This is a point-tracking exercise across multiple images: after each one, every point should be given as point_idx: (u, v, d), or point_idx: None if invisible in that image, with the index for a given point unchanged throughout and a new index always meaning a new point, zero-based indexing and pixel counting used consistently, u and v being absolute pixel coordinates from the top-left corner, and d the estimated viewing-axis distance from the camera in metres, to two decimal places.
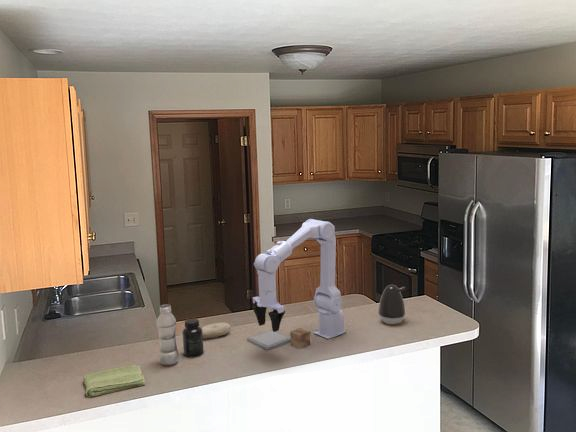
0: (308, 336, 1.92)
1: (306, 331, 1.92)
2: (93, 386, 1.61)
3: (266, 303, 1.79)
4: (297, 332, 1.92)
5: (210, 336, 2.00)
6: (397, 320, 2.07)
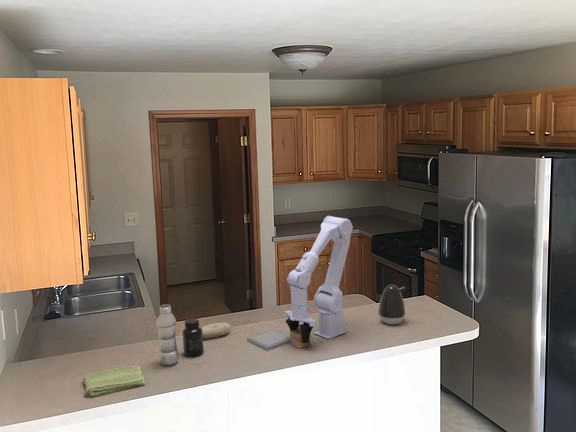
0: None
1: None
2: (93, 386, 1.61)
3: (298, 317, 1.89)
4: (297, 332, 1.92)
5: (210, 336, 2.00)
6: (397, 320, 2.07)
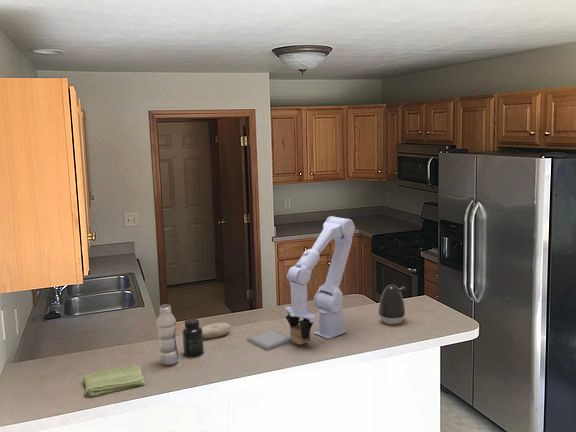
0: None
1: None
2: (93, 386, 1.61)
3: (298, 313, 1.89)
4: (297, 328, 1.92)
5: (210, 336, 2.00)
6: (397, 320, 2.07)
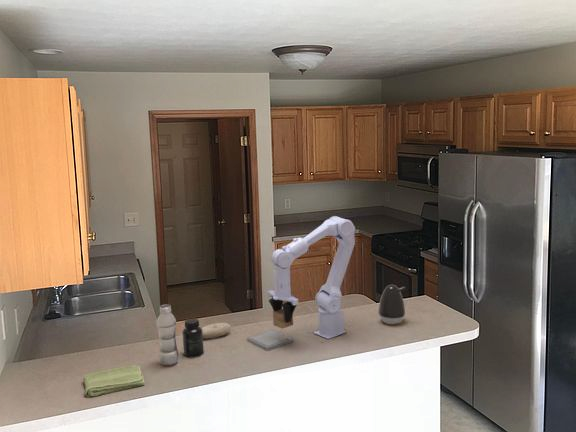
0: None
1: None
2: (93, 386, 1.61)
3: (281, 296, 1.89)
4: (280, 312, 1.92)
5: (210, 336, 2.00)
6: (397, 320, 2.07)
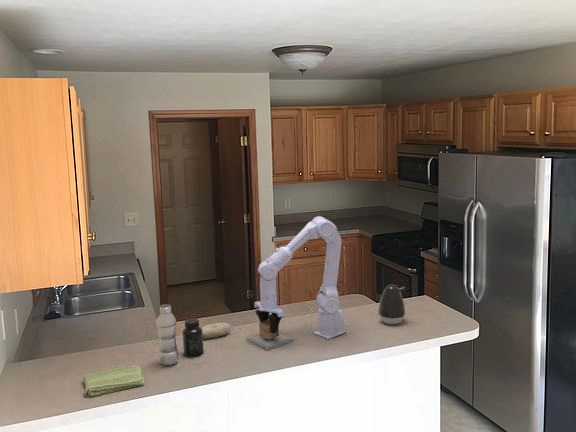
0: None
1: None
2: (93, 386, 1.61)
3: (267, 307, 1.92)
4: (266, 323, 1.95)
5: (210, 336, 2.00)
6: (397, 320, 2.07)
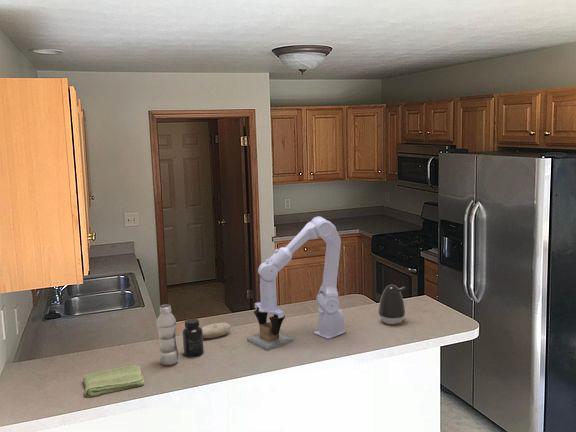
0: None
1: None
2: (92, 386, 1.61)
3: (267, 309, 1.92)
4: (266, 326, 1.95)
5: (210, 336, 2.00)
6: (397, 320, 2.07)
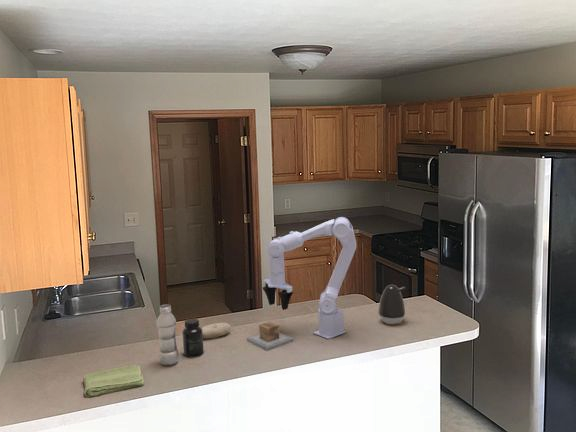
0: (277, 330, 1.96)
1: (275, 325, 1.96)
2: (92, 386, 1.61)
3: (276, 284, 1.98)
4: (266, 326, 1.95)
5: (210, 336, 2.00)
6: (397, 320, 2.07)
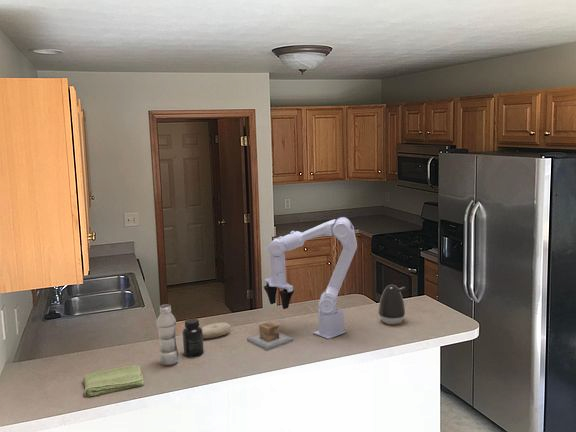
0: (277, 330, 1.96)
1: (275, 325, 1.96)
2: (92, 386, 1.61)
3: (277, 283, 1.99)
4: (266, 326, 1.95)
5: (210, 336, 2.00)
6: (397, 320, 2.07)
